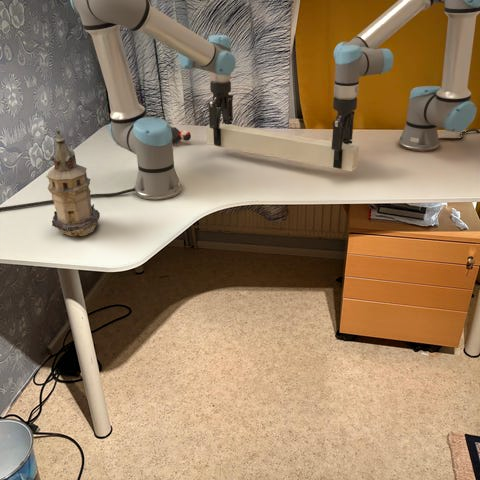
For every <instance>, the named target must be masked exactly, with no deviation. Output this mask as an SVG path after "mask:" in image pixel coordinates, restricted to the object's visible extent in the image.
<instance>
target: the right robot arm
mask: <svg viewBox="0 0 480 480" xmlns="http://www.w3.org/2000/svg"><path fill="white" fill-rule="evenodd" d="M436 4H444V8H443V12H444V14H445V15H446V16H447V17H448V19H447V28H446V29H447V30H446V38H445V47H444V48H445V49H444V58H443V67H442V77H441V86H440V85H439V86H438V85H423V86H416V87H414V88H412V89H411V91H410V95H409V98H408V106H407V113H406V114H407V115H406V121H405V122H406V123H405V126H404V128H403V130H402V132H401V135H400V137H399V139H398V146H399V147H400V148H402V149H404V150H407V151H411V152H420V153H428V152H433V151H436V150H438V149H439V147H440V141H458V140H462V139H463V138H464V135H463V134H466V133H469V132H476V133H478V134H480V130H479V129H477V128H470V129H467V128H468V127H469V126H470V125H471V124H472V123H473V121H474V120H475V118H476V115H477V106H476V105H475V103H474V102H473V101H471V97H472V91H470V90H469V88H468V85H469V77H470V68H471V61H472V53H473V46H474V45H473V44H474V36H475V30H476V29H475V28H476V21H477V16H478V15H479V14H480V0H397V1H396V2H395V3H394V4H393V5H391V6H390V7H389V8H387V10H385V11H384V12H383V13H382V14H381V15H379V16H378V17H376V19H374V21H372V22H371V23H370V24H369V25H367V26H366V27H365V28H364V29H363V30H362V31H360V32H359V33H357V35H356V36H355V37H353V38H352V39H351V40H350V41H341V42H339V43H338V44H337V45H336V46H335V48H334V51H333V59H334V64H335V66H334V69H335V70H334V85H333V96H334V97H333V101H332V108H333V110H334V111H336V112H337V114H336V116H335V120H332V136H331V137H332V138H331V142H332V148H331V149H332V150H334V161H333V167H334V168H333V169H336V168H339V169H338V170H341V167H342V154H343V150H342V144H350V145H353V135H354V134H353V133H354V119H355V114H356V113H355V111H356V110H357V108H358V107H357V105H358V98H357V97H358V94H359V91H360V87H359V83H360V77H366V76H373V75H382V74H385V73H388V72H389V71H390V70H392V68H393V66H394V54H393V52H392V51H391V50H390V49H389V48H381V47H380V48H379V46H381V45H382V44H383V43H385V41H387V40H388V39H389V38H390V37H392V36H393V35H394V34H395V33H396V32H398V31H399V30H400V29H401V28H402V27H404V26H405V25H406V24H407V23H408V22H409V21H410V20H412V19H413V18H414V17H415V16H416V15H418V14H419V13H420V12H421V11H426V10H429V9H430V8H431V7H432V6H434V5H436ZM438 128H440V129H442V130H445V131H446V132H451V133H459V137H461V135H463V136H462V137H461V138H458V137H439V132H438ZM465 131H466V132H465ZM461 133H462V134H461Z"/></svg>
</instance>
